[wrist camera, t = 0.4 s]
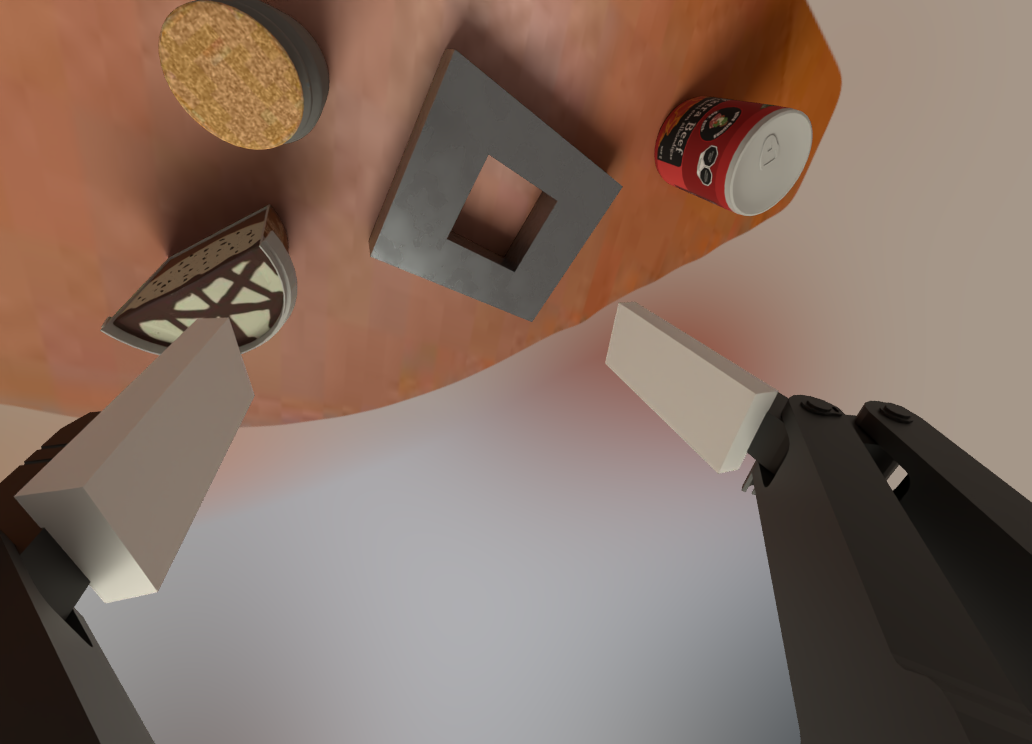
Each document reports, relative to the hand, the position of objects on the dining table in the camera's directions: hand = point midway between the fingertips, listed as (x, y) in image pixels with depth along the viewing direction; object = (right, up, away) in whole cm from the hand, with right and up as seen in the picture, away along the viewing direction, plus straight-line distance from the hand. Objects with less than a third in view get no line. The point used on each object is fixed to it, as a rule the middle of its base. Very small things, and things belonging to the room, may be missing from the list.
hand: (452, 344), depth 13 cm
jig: (0, +15, +23) cm, 27 cm away
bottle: (-14, +20, +12) cm, 27 cm away
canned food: (+20, +23, +25) cm, 39 cm away
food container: (-21, +9, +19) cm, 30 cm away
